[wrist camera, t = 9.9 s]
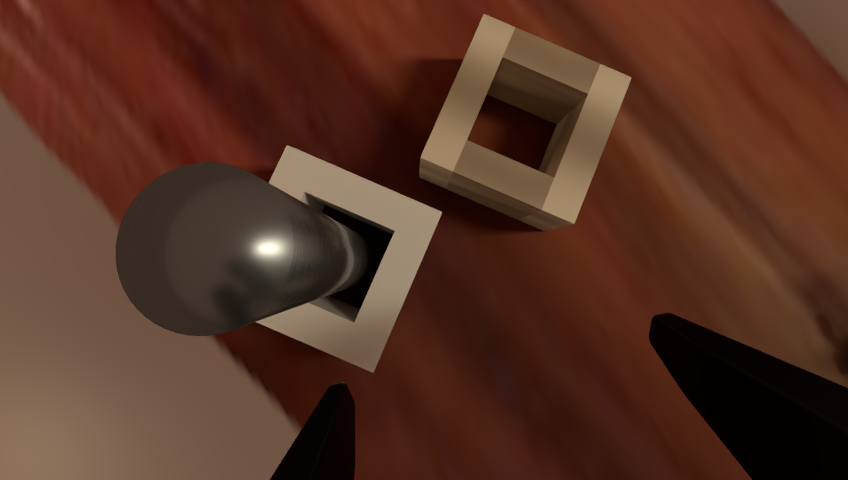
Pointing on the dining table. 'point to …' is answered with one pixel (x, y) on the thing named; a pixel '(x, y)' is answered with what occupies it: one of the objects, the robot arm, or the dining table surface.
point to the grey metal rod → (230, 251)
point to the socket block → (412, 230)
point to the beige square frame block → (539, 95)
